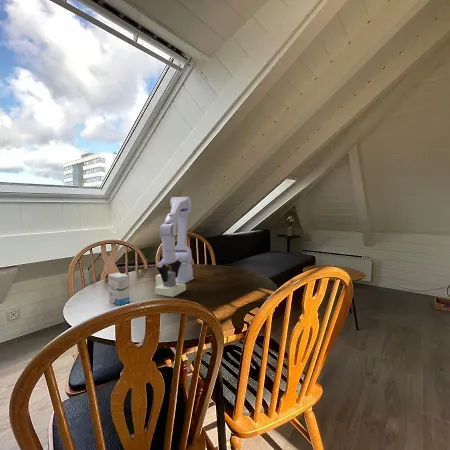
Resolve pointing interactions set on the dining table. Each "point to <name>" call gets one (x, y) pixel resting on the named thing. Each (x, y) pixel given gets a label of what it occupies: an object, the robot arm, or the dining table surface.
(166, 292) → the sage board
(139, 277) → the dining table surface
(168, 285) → the grey rectangular prism
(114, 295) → the ink box
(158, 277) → the off-white pillar
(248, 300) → the dining table surface
